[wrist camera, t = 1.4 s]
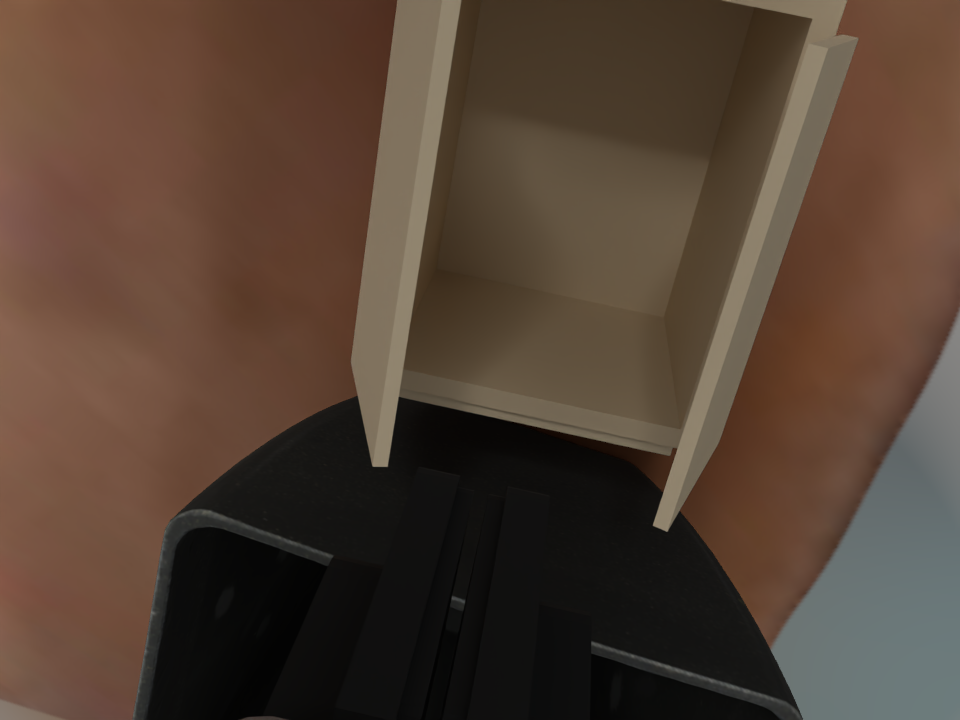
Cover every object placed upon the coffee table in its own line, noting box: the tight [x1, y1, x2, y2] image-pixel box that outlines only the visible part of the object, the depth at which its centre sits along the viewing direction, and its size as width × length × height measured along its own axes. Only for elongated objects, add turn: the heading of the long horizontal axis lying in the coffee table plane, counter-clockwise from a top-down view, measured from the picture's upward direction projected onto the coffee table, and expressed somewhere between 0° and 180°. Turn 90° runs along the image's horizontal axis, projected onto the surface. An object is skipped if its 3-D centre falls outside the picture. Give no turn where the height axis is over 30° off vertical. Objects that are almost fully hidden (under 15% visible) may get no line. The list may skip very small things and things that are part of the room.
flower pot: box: [132, 396, 803, 720], centre depth 37 cm, size 19×19×17 cm
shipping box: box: [399, 0, 847, 456], centre depth 31 cm, size 15×11×10 cm
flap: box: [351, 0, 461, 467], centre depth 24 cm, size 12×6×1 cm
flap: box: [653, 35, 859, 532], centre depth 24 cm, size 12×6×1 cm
